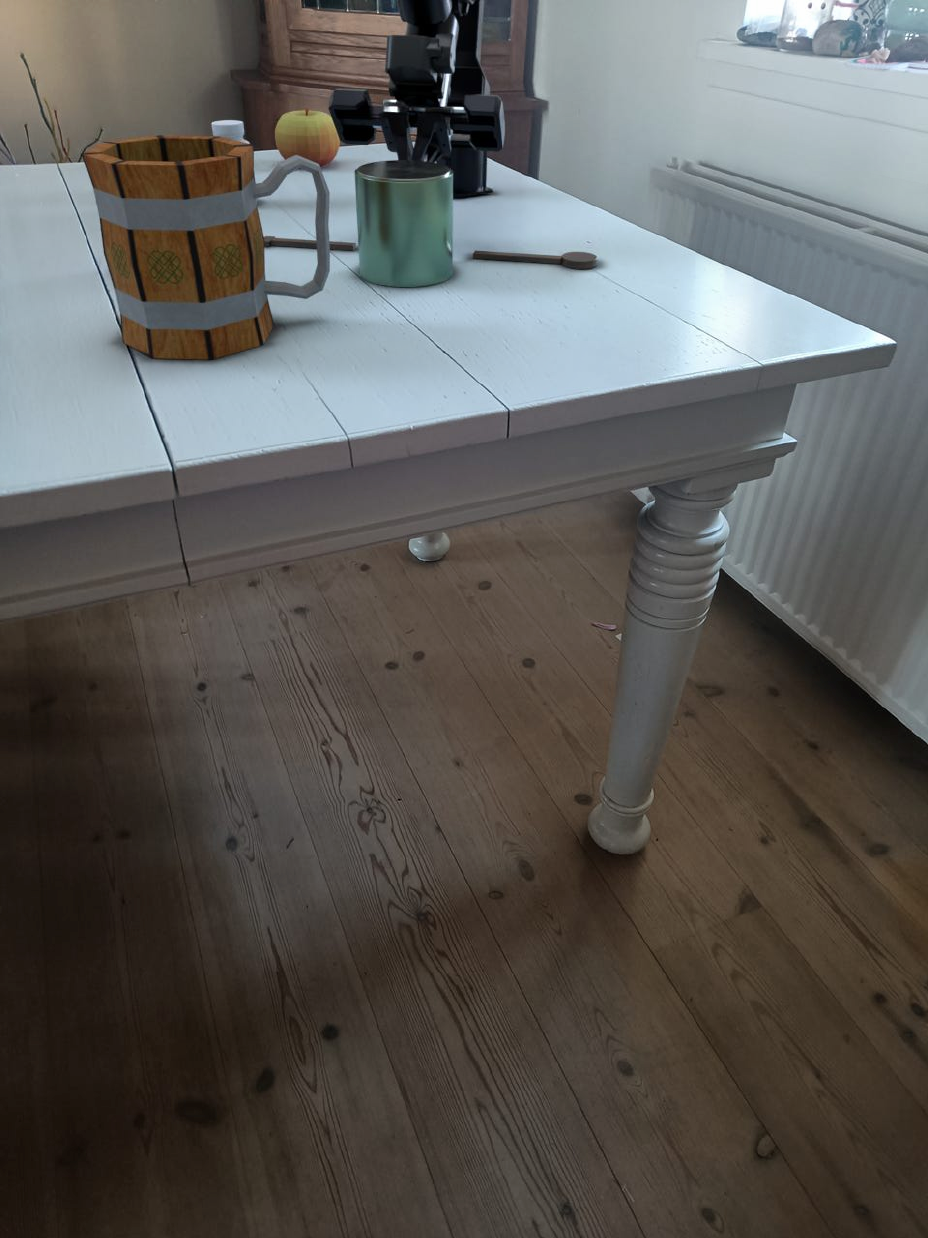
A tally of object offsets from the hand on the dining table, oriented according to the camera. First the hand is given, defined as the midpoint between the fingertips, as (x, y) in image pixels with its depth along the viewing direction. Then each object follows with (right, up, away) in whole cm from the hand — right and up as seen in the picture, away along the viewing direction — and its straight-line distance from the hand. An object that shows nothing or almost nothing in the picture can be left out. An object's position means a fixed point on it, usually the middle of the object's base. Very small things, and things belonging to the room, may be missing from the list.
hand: (406, 189), depth 96 cm
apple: (-18, +25, +45) cm, 55 cm away
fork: (-13, -3, +8) cm, 16 cm away
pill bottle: (-24, +9, +24) cm, 36 cm away
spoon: (+14, -6, +4) cm, 16 cm away
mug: (-15, -20, -14) cm, 29 cm away
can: (0, -9, 0) cm, 9 cm away
